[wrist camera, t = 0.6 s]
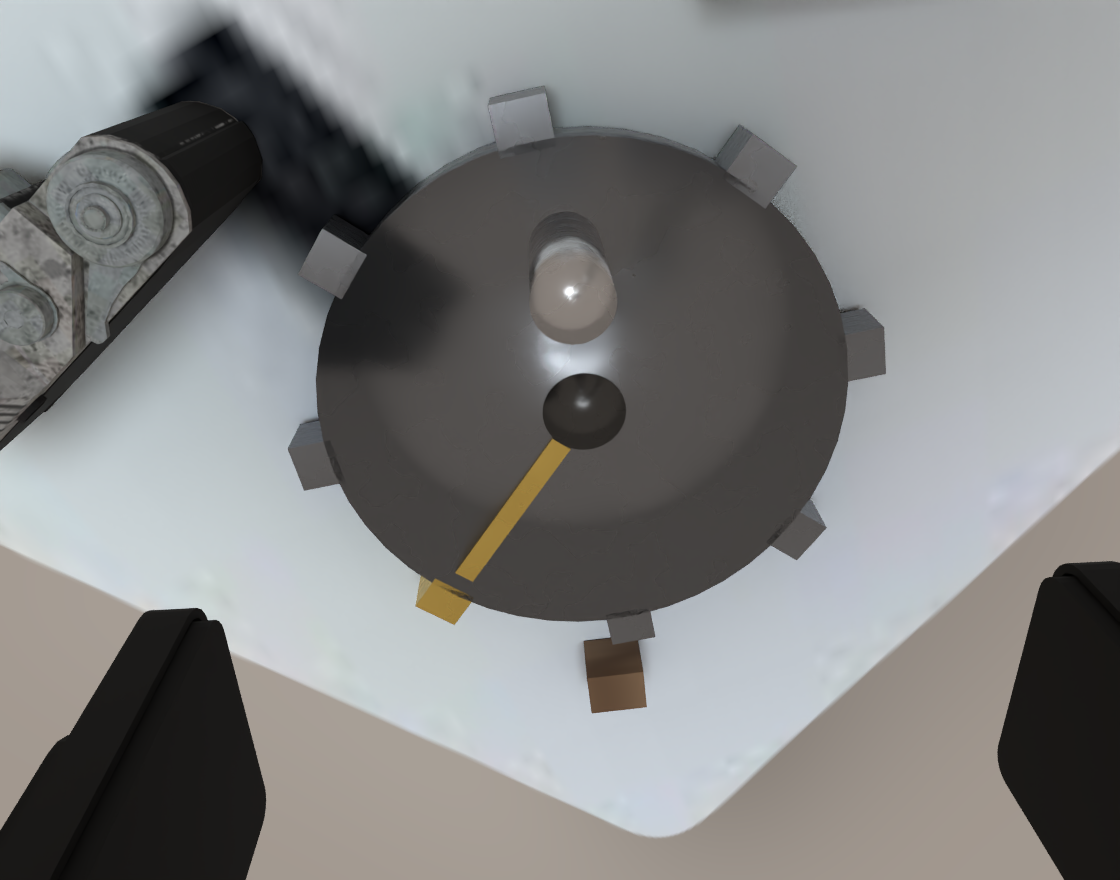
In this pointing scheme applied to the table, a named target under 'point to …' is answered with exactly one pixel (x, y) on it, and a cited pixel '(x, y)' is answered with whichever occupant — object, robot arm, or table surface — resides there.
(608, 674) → the block
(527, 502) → the sprocket
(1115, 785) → the robot arm
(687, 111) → the table surface
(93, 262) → the camera
